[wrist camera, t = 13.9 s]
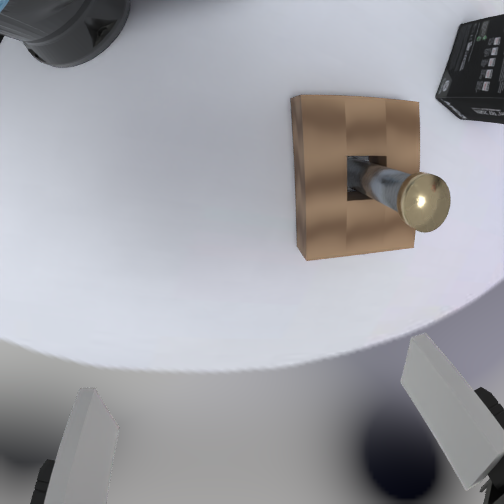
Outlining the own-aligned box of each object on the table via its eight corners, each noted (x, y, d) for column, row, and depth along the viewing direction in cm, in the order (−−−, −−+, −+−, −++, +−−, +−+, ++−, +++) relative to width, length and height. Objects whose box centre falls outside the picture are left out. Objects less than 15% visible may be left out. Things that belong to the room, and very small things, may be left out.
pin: (333, 153, 40) (407, 175, 24) (367, 153, 41) (452, 175, 24) (333, 191, 42) (403, 234, 26) (367, 189, 43) (447, 230, 26)
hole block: (290, 98, 37) (300, 94, 32) (399, 102, 38) (418, 102, 34) (296, 246, 44) (306, 260, 40) (396, 235, 46) (413, 247, 41)
